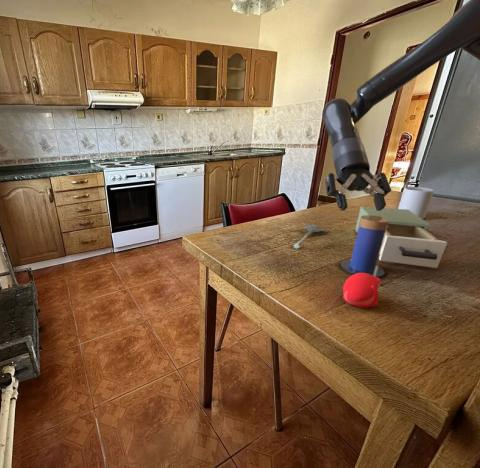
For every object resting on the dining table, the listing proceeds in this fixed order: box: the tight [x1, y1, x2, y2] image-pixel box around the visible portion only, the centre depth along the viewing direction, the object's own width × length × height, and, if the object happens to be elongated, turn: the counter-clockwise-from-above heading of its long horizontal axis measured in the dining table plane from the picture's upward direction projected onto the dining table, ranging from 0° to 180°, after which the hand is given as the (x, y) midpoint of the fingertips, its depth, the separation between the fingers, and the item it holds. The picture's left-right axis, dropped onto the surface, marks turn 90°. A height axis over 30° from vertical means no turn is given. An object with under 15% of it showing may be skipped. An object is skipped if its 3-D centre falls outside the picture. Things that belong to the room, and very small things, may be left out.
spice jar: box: [349, 215, 389, 272], centre depth 63 cm, size 5×5×13 cm
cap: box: [342, 273, 382, 308], centre depth 52 cm, size 8×6×6 cm
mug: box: [397, 186, 435, 220], centre depth 101 cm, size 12×8×11 cm
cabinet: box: [354, 206, 431, 233], centre depth 80 cm, size 16×13×9 cm
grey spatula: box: [293, 224, 326, 249], centre depth 84 cm, size 22×3×7 cm
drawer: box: [378, 224, 448, 269], centre depth 68 cm, size 19×11×7 cm, turn 156°
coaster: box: [340, 259, 385, 279], centre depth 65 cm, size 9×9×1 cm
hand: (362, 209), depth 65 cm, fingers open, 8 cm apart
